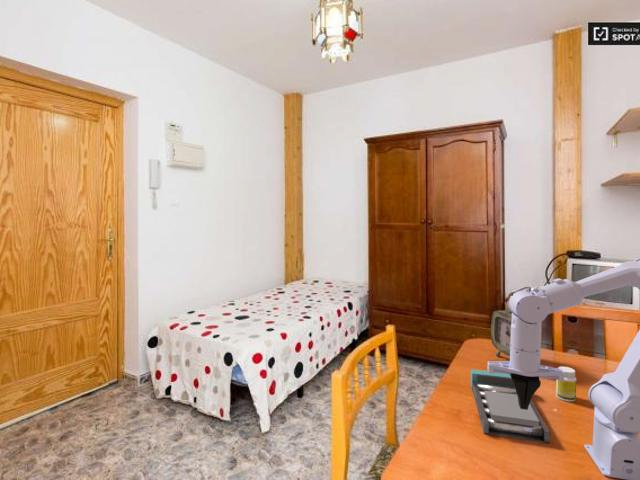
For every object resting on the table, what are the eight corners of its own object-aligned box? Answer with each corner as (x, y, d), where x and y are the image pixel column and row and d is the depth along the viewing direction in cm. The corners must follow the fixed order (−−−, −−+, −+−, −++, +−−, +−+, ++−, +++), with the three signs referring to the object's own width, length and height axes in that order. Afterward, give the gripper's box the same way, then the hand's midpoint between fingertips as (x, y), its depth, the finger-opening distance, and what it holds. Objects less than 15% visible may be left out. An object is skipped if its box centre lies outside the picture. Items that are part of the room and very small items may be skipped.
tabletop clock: (490, 354, 131) (491, 288, 129) (511, 352, 133) (513, 287, 131) (518, 371, 117) (520, 298, 115) (542, 369, 119) (544, 296, 117)
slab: (538, 427, 82) (539, 421, 82) (492, 420, 85) (492, 414, 85) (525, 400, 94) (525, 395, 93) (484, 395, 96) (484, 390, 96)
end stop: (524, 396, 101) (525, 379, 101) (472, 390, 105) (472, 374, 105) (521, 390, 105) (522, 374, 104) (470, 384, 109) (471, 369, 108)
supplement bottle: (579, 402, 98) (580, 373, 97) (560, 401, 99) (561, 372, 98) (570, 394, 102) (571, 366, 102) (552, 392, 103) (553, 365, 103)
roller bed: (549, 443, 81) (549, 432, 81) (483, 433, 85) (484, 422, 85) (523, 395, 102) (524, 386, 102) (472, 389, 106) (472, 380, 106)
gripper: (557, 343, 78) (554, 402, 79) (485, 337, 82) (484, 393, 83) (569, 356, 71) (566, 420, 72) (491, 348, 76) (489, 409, 77)
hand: (523, 407), depth 77 cm, fingers closed
